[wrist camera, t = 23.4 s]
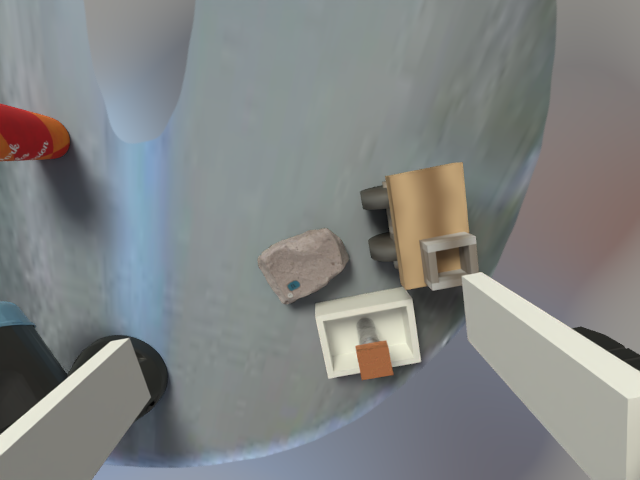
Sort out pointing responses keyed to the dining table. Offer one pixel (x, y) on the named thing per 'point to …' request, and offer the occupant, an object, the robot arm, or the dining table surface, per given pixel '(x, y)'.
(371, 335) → the pin
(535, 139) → the dining table surface
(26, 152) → the coffee cup
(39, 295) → the dining table surface
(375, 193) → the trolley
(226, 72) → the dining table surface
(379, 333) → the tray
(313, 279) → the stone
